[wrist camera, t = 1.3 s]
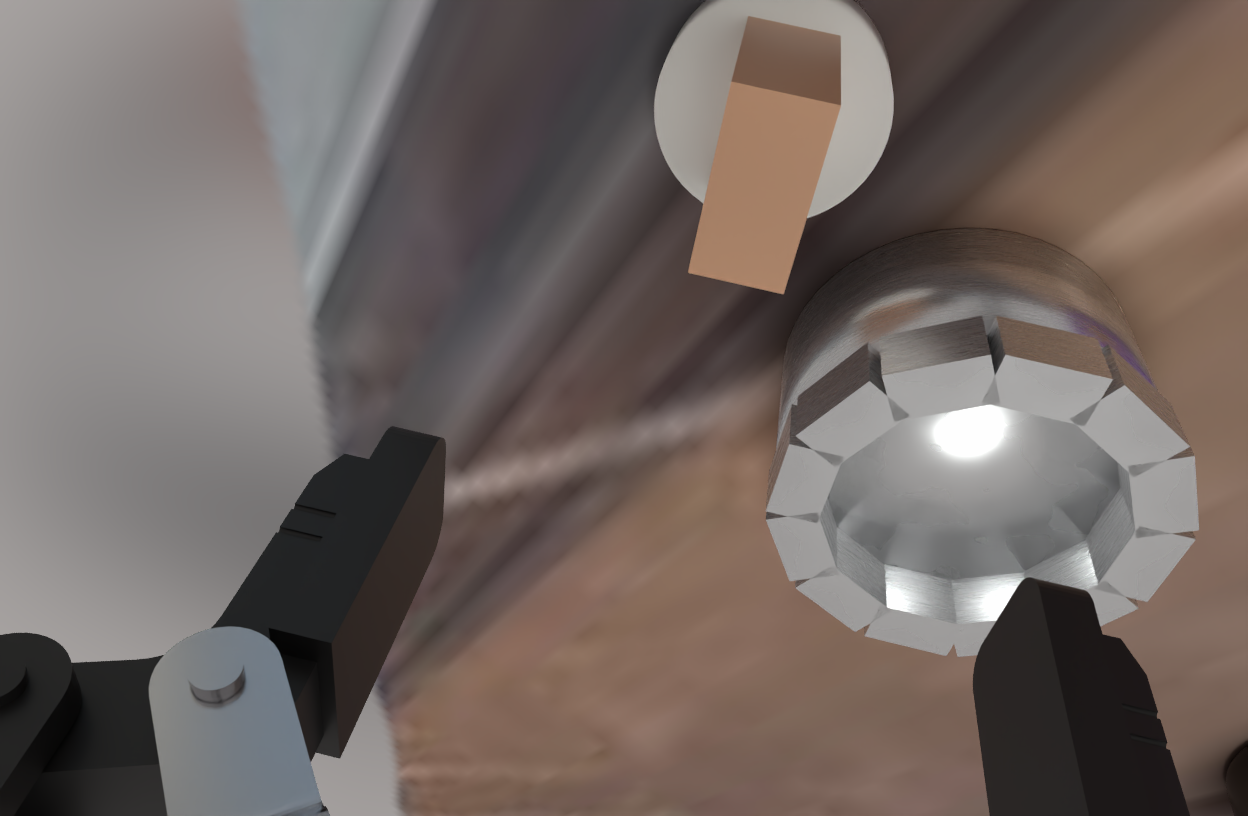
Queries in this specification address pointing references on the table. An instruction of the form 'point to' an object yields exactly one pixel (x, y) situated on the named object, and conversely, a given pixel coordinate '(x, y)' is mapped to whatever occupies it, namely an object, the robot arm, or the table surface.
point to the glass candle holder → (972, 442)
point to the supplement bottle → (1238, 783)
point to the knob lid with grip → (770, 125)
